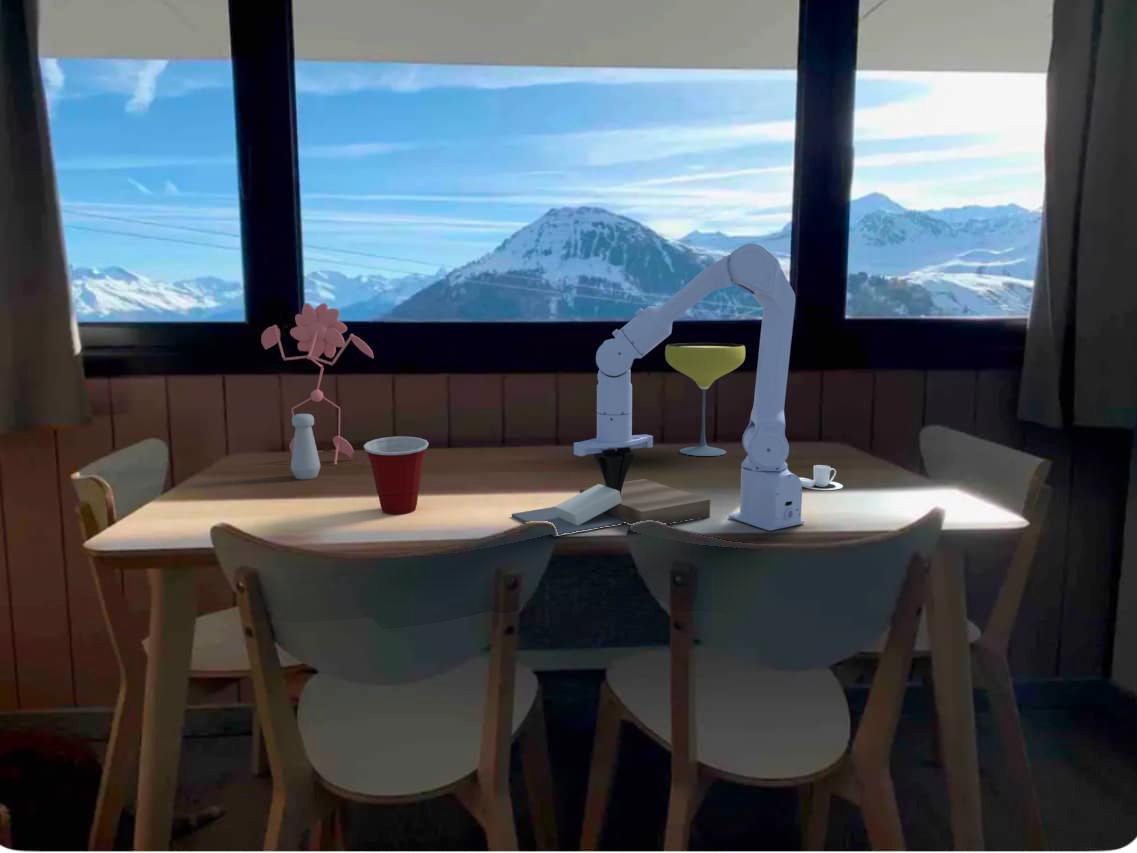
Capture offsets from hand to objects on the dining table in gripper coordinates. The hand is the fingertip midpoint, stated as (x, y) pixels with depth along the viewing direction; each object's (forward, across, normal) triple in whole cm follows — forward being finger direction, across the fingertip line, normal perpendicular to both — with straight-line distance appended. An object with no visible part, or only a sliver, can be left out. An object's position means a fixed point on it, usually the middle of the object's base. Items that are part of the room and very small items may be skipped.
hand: (613, 493), depth 133 cm
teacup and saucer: (+4, -46, 0) cm, 46 cm away
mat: (+4, +8, -2) cm, 9 cm away
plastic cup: (+4, +29, -23) cm, 37 cm away
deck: (+4, -6, 0) cm, 7 cm away
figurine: (+4, +27, -75) cm, 80 cm away
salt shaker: (+4, +36, -58) cm, 68 cm away
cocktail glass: (+4, -49, -34) cm, 60 cm away
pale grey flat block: (+2, +5, 0) cm, 5 cm away
